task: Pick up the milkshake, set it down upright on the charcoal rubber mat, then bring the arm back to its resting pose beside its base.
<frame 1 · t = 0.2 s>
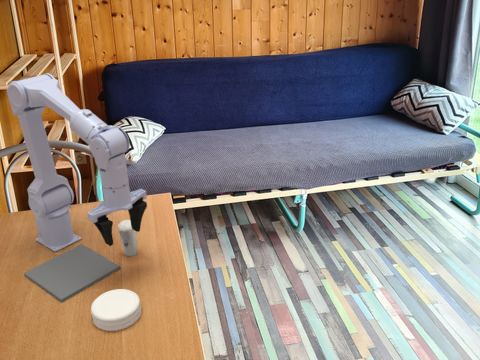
hand: (122, 236, 115), 10 cm above the table, tool pointing down, fingers open, 7 cm apart
white round tin: (117, 316, 106), on the table
mat: (72, 272, 121), on the table
milkshake: (132, 254, 127), on the table
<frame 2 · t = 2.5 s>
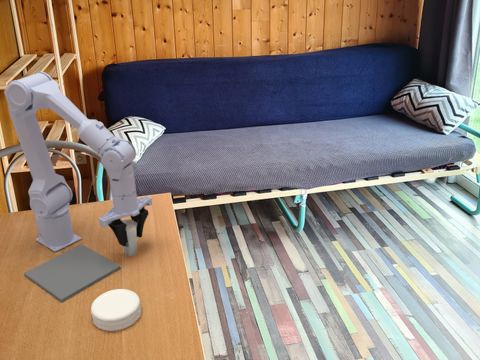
hand: (130, 240, 126), 4 cm above the table, tool pointing down, fingers closed on milkshake, 4 cm apart
milkshake: (132, 254, 127), on the table, touching gripper
everything else where it was.
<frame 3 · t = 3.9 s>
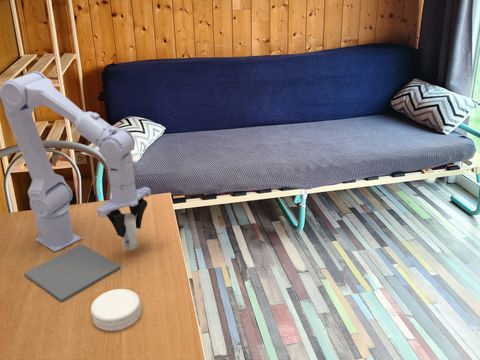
hand: (129, 231, 125), 6 cm above the table, tool pointing down, fingers closed on milkshake, 4 cm apart
milkshake: (133, 247, 127), point 2 cm above the table, touching gripper
everything else where it was.
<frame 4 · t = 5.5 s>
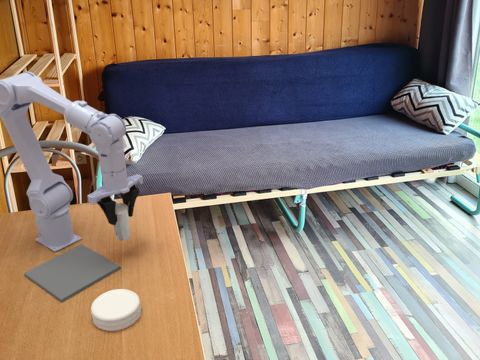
hand: (120, 219, 122), 10 cm above the table, tool pointing down, fingers closed on milkshake, 4 cm apart
milkshake: (125, 238, 125), point 5 cm above the table, touching gripper
everything else where it was.
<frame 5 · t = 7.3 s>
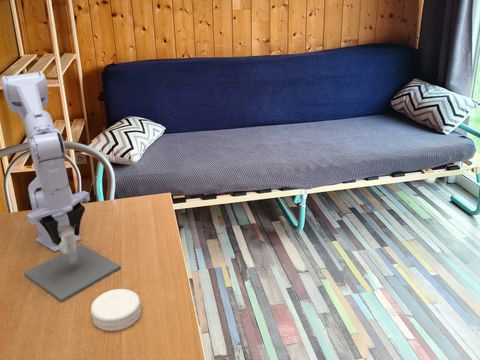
hand: (66, 238, 117), 9 cm above the table, tool pointing down, fingers closed on milkshake, 4 cm apart
milkshake: (73, 260, 120), point 3 cm above the table, touching gripper
everything else where it was.
when the fingers open (6 cm above the table, at t = 8.8 s): milkshake stays where it is, resting on mat.
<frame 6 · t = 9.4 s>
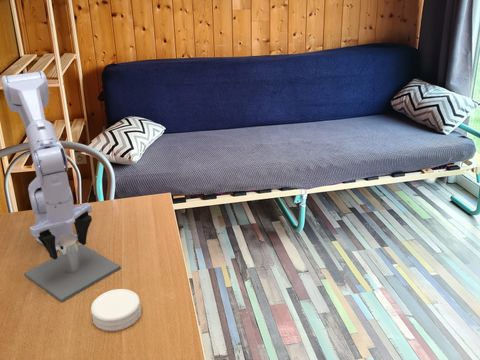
hand: (68, 250, 118), 6 cm above the table, tool pointing down, fingers open, 7 cm apart
milkshake: (74, 269, 121), point 1 cm above the table, touching mat
everything else where it was.
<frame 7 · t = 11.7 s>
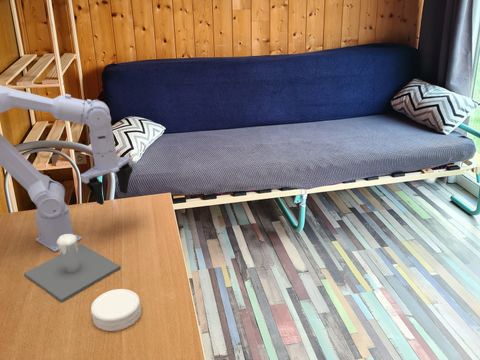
hand: (112, 197, 133), 10 cm above the table, tool pointing down, fingers open, 7 cm apart
nothing on the table moved.
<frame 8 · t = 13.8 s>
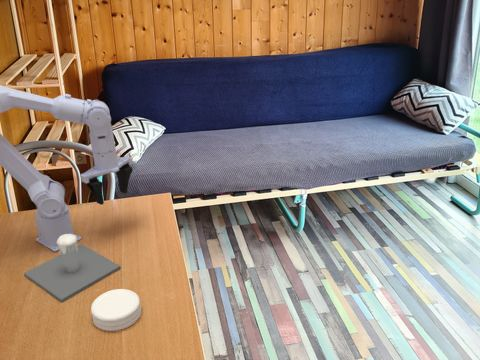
hand: (112, 197, 133), 10 cm above the table, tool pointing down, fingers open, 7 cm apart
nothing on the table moved.
at the end: milkshake inside the target area on the mat (0.5 cm from its centre), point 0.6 cm above the mat's base; milkshake tilted 0°; the gripper is holding nothing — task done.
